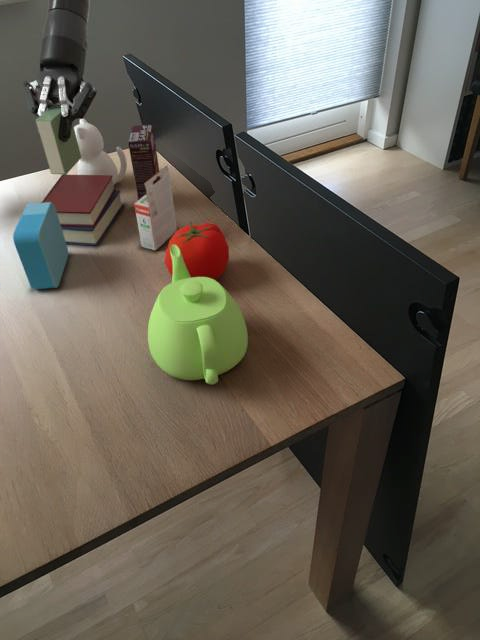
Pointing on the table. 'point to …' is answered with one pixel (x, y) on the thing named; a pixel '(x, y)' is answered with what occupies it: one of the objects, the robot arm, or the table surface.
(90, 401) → the table surface
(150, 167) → the supplement box
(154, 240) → the ink box
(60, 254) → the blue rounded block
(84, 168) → the cat figurine
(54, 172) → the green rectangular block
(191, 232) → the tomato
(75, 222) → the book stack
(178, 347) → the teapot
